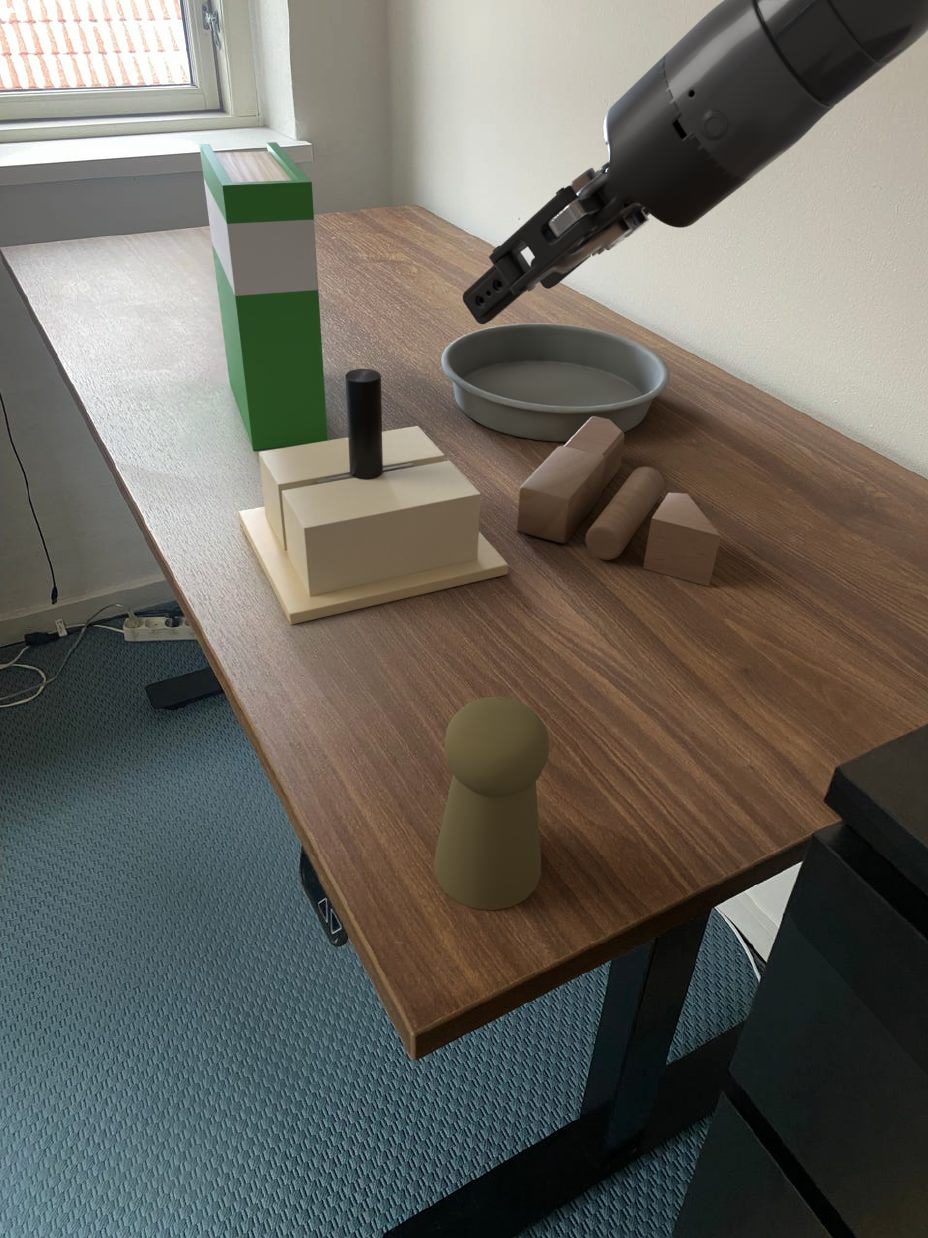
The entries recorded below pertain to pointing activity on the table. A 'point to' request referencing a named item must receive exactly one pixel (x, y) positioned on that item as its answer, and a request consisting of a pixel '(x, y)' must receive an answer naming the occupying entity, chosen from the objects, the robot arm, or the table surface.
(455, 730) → the chess pawn figurine
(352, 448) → the knife
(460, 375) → the cake pan
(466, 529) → the slotted fixture
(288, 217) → the hardback book
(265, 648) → the table surface
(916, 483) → the table surface
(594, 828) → the table surface
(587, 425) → the wooden block set
